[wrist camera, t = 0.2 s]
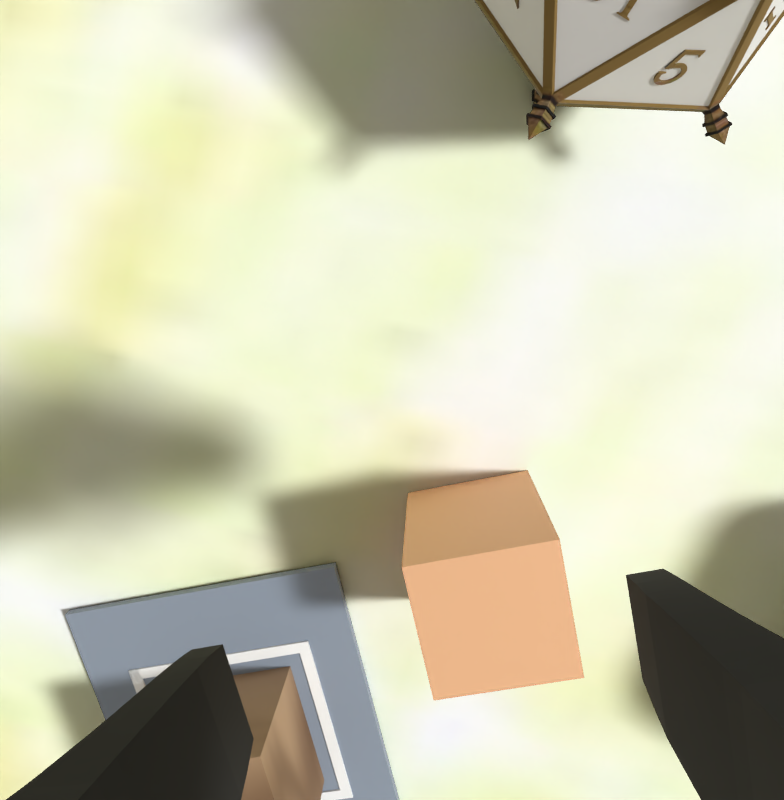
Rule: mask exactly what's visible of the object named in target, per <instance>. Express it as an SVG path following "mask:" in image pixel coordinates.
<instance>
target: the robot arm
mask: <svg viewBox="0 0 784 800" xmlns="http://www.w3.org/2000/svg"><path fill="white" fill-rule="evenodd" d="M626 578H627V584H628V590H629V597H630V603H631V609H632V615H633V622H634V628H635V634H636V641H637V647H638V653H639V660H640V666H641V672H642V679H643V682H644V684H645V686H646V689H647V691H648V694H649V696H650V699H651V701H652V703H653V706H654V708H655V711H656V713H657V715H658V718H659V720H660V722H661V725H662V727H663V729H664V732H665V734H666V736H667V739H668V740H669V742H670V744H671V746H672V748H673V750H674V751H675V753H676V755H677V757H678V759H679V761H680V762H681V764H682V766H683V768H684V770H685V771H686V773H687V775H688V777H689V779H690V780H691V782H692V784H693V786H694V788H695V789H696V791H697V793H698V795H699V797H700V798H701V800H784V638H782V637H780V636H779V635H777V634H775V633H773V632H771V631H769V630H767V629H765V628H764V627H762V626H760V625H758V624H756V623H755V622H753V621H751V620H749V619H748V618H746V617H744V616H742V615H740V614H739V613H737V612H735V611H734V610H732V609H730V608H728V607H727V606H725V605H723V604H722V603H720V602H718V601H717V600H715V599H713V598H712V597H710V596H708V595H707V594H705V593H703V592H702V591H700V590H698V589H697V588H695V587H693V586H692V585H690V584H688V583H687V582H685V581H683V580H682V579H680V578H678V577H677V576H675V575H673V574H672V573H670V572H668V571H666V570H664V569H659V570H653V571H647V572H642V573H636V574H630V575H626ZM253 740H254V738H253V735H252V732H251V729H250V726H249V723H248V720H247V717H246V714H245V711H244V708H243V705H242V702H241V698H240V695H239V692H238V689H237V686H236V683H235V680H234V677H233V674H232V671H231V668H230V665H229V662H228V659H227V656H226V653H225V650H224V646H223V644H221V645H215V646H209V647H203V648H198V649H192V650H190V651H189V652H187V653H186V654H184V655H183V656H182V657H180V658H179V659H178V660H176V661H175V662H174V663H173V664H171V665H170V666H169V667H168V668H166V669H165V670H164V671H163V672H162V673H160V674H159V675H158V676H157V677H156V678H154V679H153V680H152V681H151V682H150V683H148V684H147V685H146V686H145V687H144V688H143V689H142V690H140V691H139V692H138V693H137V694H136V695H135V696H133V697H132V698H131V699H130V700H129V701H128V702H126V703H125V704H124V705H123V706H122V707H121V708H119V709H118V710H117V711H116V712H115V713H114V714H112V715H111V716H110V717H109V718H108V719H107V720H105V721H104V722H103V723H102V724H101V725H100V726H98V727H97V728H96V729H95V730H94V731H92V732H91V733H90V734H89V735H88V736H86V737H85V738H84V739H83V740H81V741H80V742H79V743H78V744H76V745H75V746H74V747H73V748H71V749H70V750H69V751H68V752H66V753H65V754H64V755H63V756H62V757H60V758H59V759H58V760H57V761H55V762H54V763H53V764H52V765H50V766H49V767H48V768H47V769H45V770H44V771H43V772H42V773H41V774H39V775H38V776H37V777H36V778H34V779H33V780H32V781H30V782H29V783H28V784H26V785H25V786H24V787H22V788H21V789H20V790H19V791H17V792H16V793H14V794H13V795H12V796H10V797H9V798H8V799H6V800H241V798H242V793H243V789H244V784H245V780H246V775H247V771H248V766H249V761H250V755H251V750H252V745H253Z"/></svg>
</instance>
